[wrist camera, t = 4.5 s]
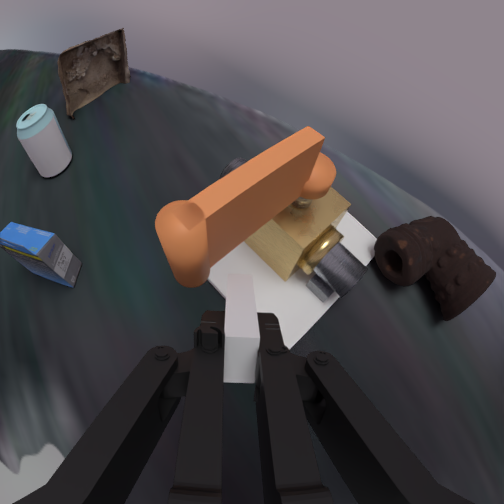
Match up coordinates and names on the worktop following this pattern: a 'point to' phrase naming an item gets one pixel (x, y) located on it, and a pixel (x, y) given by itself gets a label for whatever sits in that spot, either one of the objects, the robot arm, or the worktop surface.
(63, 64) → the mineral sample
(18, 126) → the can
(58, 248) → the label tape cartridge
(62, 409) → the worktop surface
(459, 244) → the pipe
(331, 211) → the valve
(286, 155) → the lever
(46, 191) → the worktop surface
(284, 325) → the mount board
